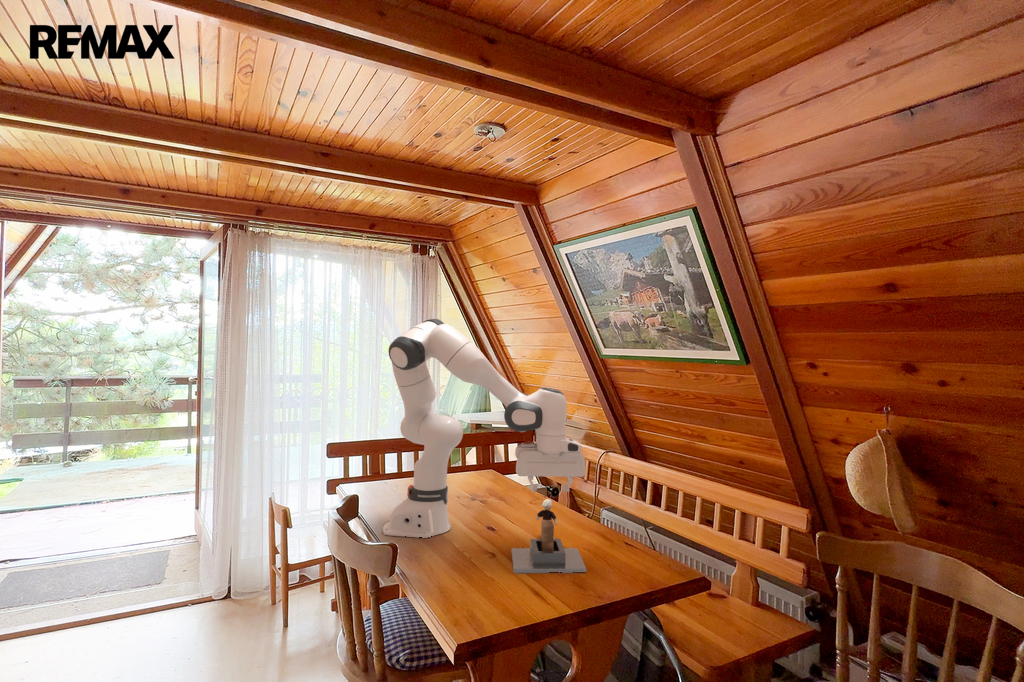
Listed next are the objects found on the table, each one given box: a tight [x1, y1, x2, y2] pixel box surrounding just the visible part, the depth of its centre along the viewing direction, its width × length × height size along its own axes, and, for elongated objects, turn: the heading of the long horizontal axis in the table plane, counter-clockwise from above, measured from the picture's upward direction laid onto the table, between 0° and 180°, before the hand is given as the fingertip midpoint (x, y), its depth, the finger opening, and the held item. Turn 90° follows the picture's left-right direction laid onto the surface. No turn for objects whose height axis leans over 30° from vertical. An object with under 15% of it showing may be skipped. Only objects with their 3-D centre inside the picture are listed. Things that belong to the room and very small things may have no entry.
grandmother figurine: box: [535, 498, 558, 539], centre depth 174 cm, size 8×4×13 cm, turn 71°
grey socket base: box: [511, 538, 587, 574], centre depth 155 cm, size 20×15×5 cm
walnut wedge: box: [540, 520, 555, 551], centre depth 155 cm, size 3×5×10 cm, turn 3°
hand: (550, 491), depth 156 cm, fingers open, 8 cm apart
